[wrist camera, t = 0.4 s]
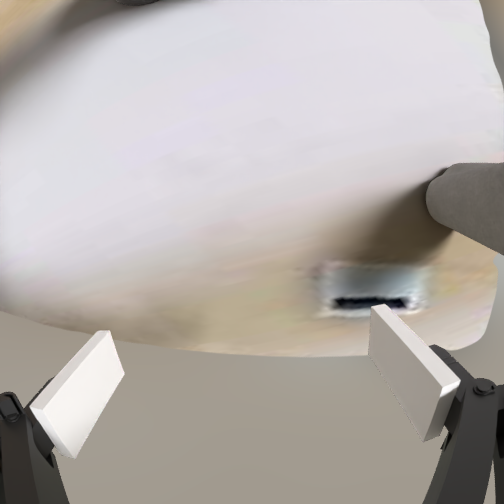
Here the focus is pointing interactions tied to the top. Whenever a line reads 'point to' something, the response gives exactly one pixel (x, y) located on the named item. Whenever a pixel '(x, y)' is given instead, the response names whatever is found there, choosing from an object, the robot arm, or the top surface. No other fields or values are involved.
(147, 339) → the top surface
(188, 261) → the top surface
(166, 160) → the top surface
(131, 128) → the top surface
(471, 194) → the vase
